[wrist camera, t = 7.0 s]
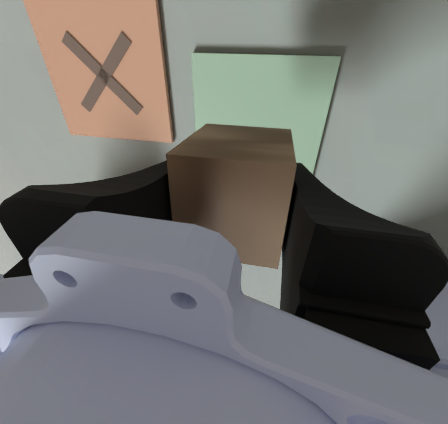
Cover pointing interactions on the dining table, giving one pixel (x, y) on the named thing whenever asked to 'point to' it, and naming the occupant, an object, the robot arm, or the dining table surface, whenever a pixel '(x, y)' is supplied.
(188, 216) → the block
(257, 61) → the tile
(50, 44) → the tile
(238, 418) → the robot arm
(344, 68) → the dining table surface
